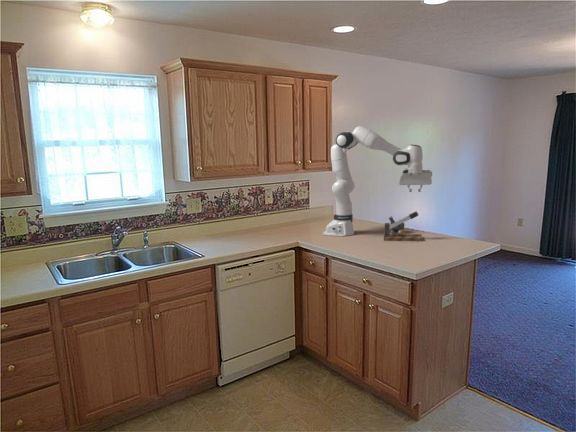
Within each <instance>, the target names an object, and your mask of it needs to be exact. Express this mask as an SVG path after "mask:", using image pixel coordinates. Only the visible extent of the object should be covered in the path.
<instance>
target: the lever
mask: <svg viewBox="0 0 576 432" xmlns="http://www.w3.org/2000/svg"><path fill="white" fill-rule="evenodd" d="M416 217H419V212H418V211H414V212H411V213H409V214H408V215H407V216H405V217H403V218H401V219H398V220H397V221H395V223H393V224H391V225H390V224H389V229H390V230H392V229H391V228H393V227H395V226H397V225H399V224H401V223H406V222H408V221H409V220H412V219H415V218H416Z"/></svg>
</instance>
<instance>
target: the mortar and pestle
mask: <svg viewBox="0 0 576 432" xmlns="http://www.w3.org/2000/svg"><path fill="white" fill-rule="evenodd" d="M388 220H389V221H390V222H389V225H391V224H393V223H395V222H396V221H395V219H394V218H393V216H389V217H388ZM400 229H402V230H404V229H405V222H403V223H401V224H399V225H397V226H395V227H393V228H391V229H390V230H392V234H398V231H399V230H400Z"/></svg>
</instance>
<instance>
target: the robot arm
mask: <svg viewBox="0 0 576 432" xmlns="http://www.w3.org/2000/svg"><path fill="white" fill-rule="evenodd" d="M357 144H360V145H362V146H364V147H365V148H368V149H369V150H373V151H374V150H375V151H376V150H377V151H382V152H383V151H384V152H385V153H387V154H389V155H391V156H392V161H393V163H394V164H395V165H397V166H407V168H403V169H401V170H400V175H399V178H398V186H407V188H408V191H409V193H413V192H412V190H413V189H412V188H410V187H411V186H420V188H418V189H417V190H418V193H421V191H422V188H423V185H424V186H425V185H426V186H429V185H432V184H433V183H432V181H433V180H432V177H433V171H431V170H430V169H423V163H422V162H423V158H424V157H423V147H422V146H421V145H418V144H409V145H408V146H406V147H404V148H403V149H402V148H400V147H398V146H397V145H394V144H393V143H391V142H389V141H387V140H386V139H385V138H384V137H382V136H381V135H380V134H378V133H376V132H375V131H373V130H372V129H369V128H368V127H367V126H366V127H365V126H362V125H358V126H356V127H355V128H354V129H353V131H344V132H339V133H338V134H337V135H336V137H335V144H333V145H332V146H331V147H330V159H331V167H332V172H333V174H334V176H335V178H336V181H335V182H334V183H333V184H332V186H331V192H332V193H333V195H334V200H335V211H336V212H335V213H333V219H332V220H331V221H330V222H329V223H328V224H327V225H326V227H325V230H324V231H323V232H322V235H323V236H329V237H330V236H331V237H332V236H333V237H347V236H353V235H355V230H354V223H353V222H354V218H353V217H354V215H353V204H352V201H351V197H350V194H351V193H352V192H353V191H354V189H355V182H354V180H353V178H352V175H351V173H350V168H349V163H348V162H349V161H348V156H347V150H350V149H353V148H354V147H356V146H357Z"/></svg>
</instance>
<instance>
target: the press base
mask: <svg viewBox="0 0 576 432" xmlns="http://www.w3.org/2000/svg"><path fill="white" fill-rule="evenodd" d="M389 225H390V222H385V223H384V234H383V241H385V242H389V241H390V242H423V235H422V234H421V233H420V234H419V233H416V234H415V233H405V234H404V235H403V236H399V235H398V234H395V233H390V230H391V229H389Z"/></svg>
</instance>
